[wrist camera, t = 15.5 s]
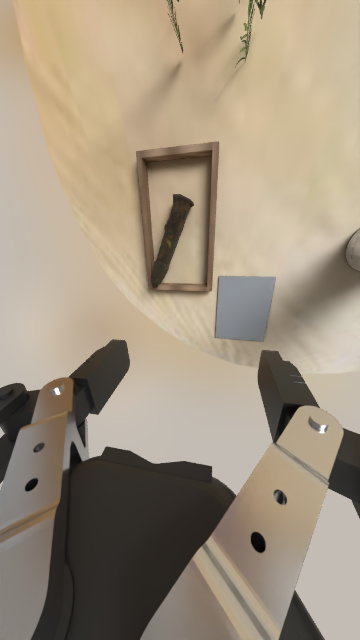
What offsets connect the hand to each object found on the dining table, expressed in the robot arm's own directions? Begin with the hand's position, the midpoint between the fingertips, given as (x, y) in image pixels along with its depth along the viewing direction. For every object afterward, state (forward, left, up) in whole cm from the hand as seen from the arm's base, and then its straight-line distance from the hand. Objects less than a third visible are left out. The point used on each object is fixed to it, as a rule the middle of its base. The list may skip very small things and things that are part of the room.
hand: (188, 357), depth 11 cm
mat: (-7, +10, -35) cm, 37 cm away
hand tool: (+7, -9, -38) cm, 40 cm away
